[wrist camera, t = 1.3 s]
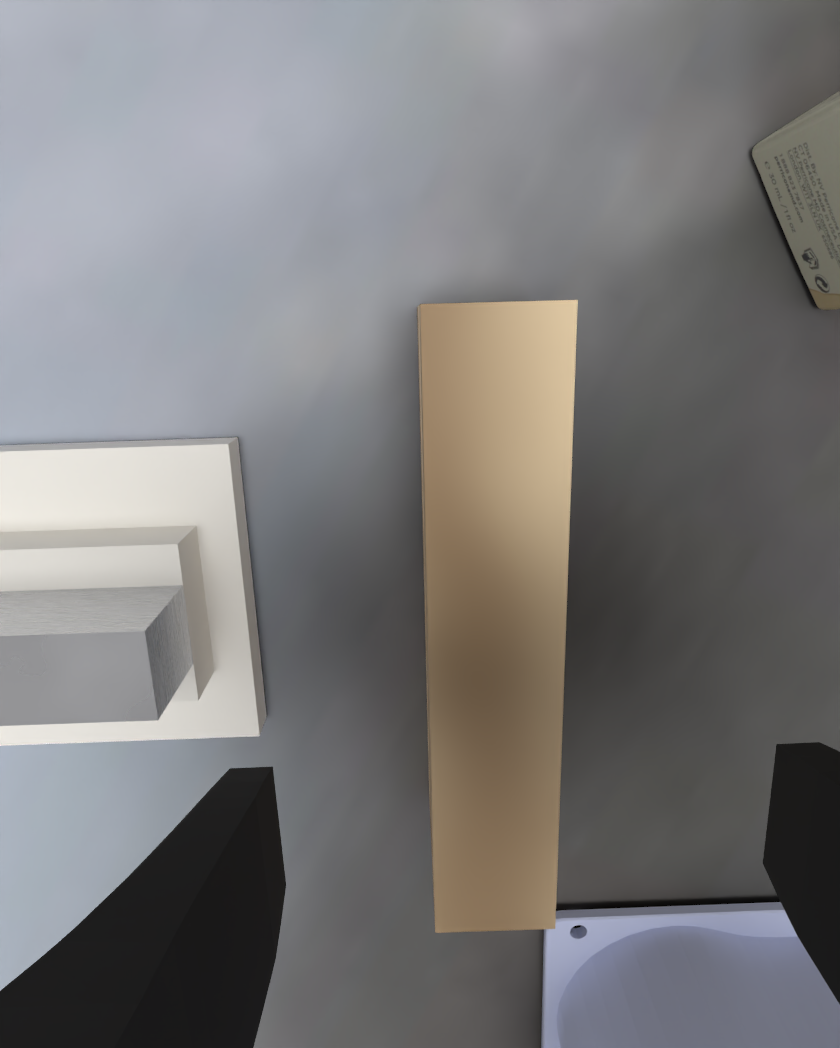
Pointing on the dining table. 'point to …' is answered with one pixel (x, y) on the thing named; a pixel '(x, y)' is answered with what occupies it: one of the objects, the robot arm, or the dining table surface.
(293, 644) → the dining table surface
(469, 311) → the oak bar
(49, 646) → the ridge stand
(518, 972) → the dining table surface
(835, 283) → the skincare box
